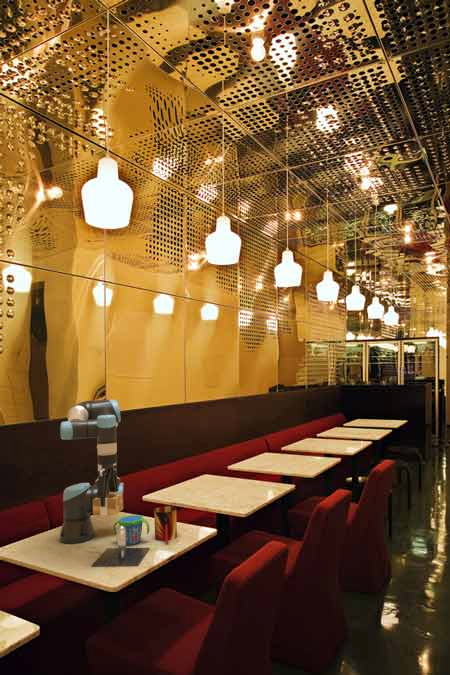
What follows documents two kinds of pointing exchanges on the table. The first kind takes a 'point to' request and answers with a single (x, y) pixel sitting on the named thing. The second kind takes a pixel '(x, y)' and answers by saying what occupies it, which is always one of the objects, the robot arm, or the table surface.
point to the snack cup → (132, 528)
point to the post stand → (121, 553)
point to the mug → (165, 523)
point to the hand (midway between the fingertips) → (108, 511)
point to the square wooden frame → (109, 504)
